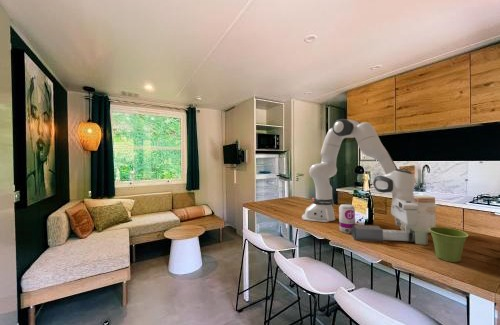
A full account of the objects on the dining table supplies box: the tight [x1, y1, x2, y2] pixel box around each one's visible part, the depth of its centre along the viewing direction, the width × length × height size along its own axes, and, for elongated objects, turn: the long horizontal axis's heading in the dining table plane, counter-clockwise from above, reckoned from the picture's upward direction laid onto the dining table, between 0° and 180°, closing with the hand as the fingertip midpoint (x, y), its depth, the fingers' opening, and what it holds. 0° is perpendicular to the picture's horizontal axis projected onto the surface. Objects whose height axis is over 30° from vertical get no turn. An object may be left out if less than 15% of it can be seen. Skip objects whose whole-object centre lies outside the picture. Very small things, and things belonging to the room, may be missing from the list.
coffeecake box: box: [399, 194, 437, 234], centre depth 120 cm, size 15×7×20 cm, turn 84°
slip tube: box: [381, 228, 415, 243], centre depth 108 cm, size 21×6×5 cm, turn 76°
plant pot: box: [429, 226, 469, 263], centre depth 87 cm, size 12×12×11 cm
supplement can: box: [338, 203, 356, 234], centre depth 122 cm, size 8×8×15 cm
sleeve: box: [351, 224, 384, 243], centre depth 111 cm, size 13×7×6 cm, turn 76°
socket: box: [410, 226, 429, 246], centre depth 105 cm, size 5×8×6 cm, turn 166°
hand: (402, 229), depth 107 cm, fingers open, 8 cm apart
